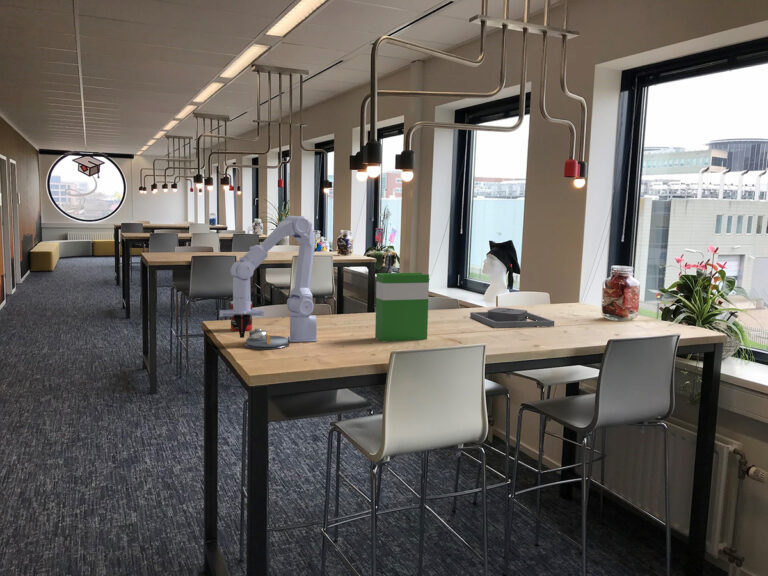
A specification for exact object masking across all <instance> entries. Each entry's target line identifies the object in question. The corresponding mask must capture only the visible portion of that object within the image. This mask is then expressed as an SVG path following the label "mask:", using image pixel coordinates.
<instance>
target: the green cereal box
mask: <svg viewBox="0 0 768 576" xmlns="http://www.w3.org/2000/svg"><path fill="white" fill-rule="evenodd" d="M375 287H376V289H375V293H376V294H375V331H374V332H375V333H374V334H375V339H376V338H377V339H376V340H378V339H379V340H378V341H380V340H381V341H380V342H382V341H387V342H402V341H403V342H405V341H419V340H420V341H421V340H422V341H423V340H428V327H429V326H428V324H429V323H428V321H429V294H430V293H429V291H430V290H429V289H430V288H429V287H430V274H429V273H428V274H426V273H425V274H424V273H422V272H379V273H378V272H376V286H375Z"/></svg>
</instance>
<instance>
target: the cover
mask: <svg viewBox="0 0 768 576" xmlns="http://www.w3.org/2000/svg"><path fill="white" fill-rule="evenodd" d="M266 333H268V331H267V330H265V329H263V328H254V329H252V330H251V331H248V338H249V340H250V341H266Z"/></svg>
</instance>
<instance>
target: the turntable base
mask: <svg viewBox="0 0 768 576" xmlns="http://www.w3.org/2000/svg"><path fill="white" fill-rule="evenodd" d="M244 347H245V348H247V349H250V350H258V351H272V350H273V349H274V350H280V349H281V348H282V349H286V348H287V347H290V341H288V344H286V345H283V346H277V347H254V346H249V345H247V344H246V342H244ZM285 347H286V348H285Z"/></svg>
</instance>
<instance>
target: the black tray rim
mask: <svg viewBox="0 0 768 576" xmlns="http://www.w3.org/2000/svg"><path fill="white" fill-rule="evenodd" d="M487 314H488V311H470V315H469V318H470V317H471V318H470V319H473V320H475V321H477V322H480V323H482V324H483V325H484V324H485V325H487V326H489V327H491V328H493V329H508V328H509V329H511V328H512V327H519V328H535V327H534V326H554V327H555V320H554V319H548V318H546V317H544V316H541V315H537V314H534V313H531V312H528V311H527V317H528V318H531V319H534V320H537V321H534V320H531V319H530V320H527V321H514V322H495V321H493V320H490V319H488V318H486V317H487ZM528 318H527V319H528Z"/></svg>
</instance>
